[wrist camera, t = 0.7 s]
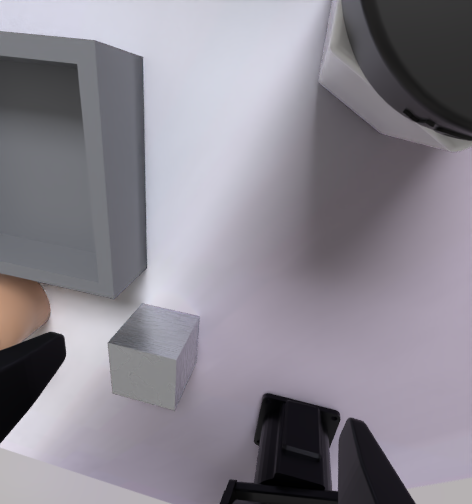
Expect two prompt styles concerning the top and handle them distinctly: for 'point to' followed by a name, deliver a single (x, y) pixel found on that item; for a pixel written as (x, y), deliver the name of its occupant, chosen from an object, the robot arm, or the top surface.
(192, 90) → the top surface
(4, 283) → the ceramic canister
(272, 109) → the top surface
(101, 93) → the tote
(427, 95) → the jar
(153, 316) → the steel block
